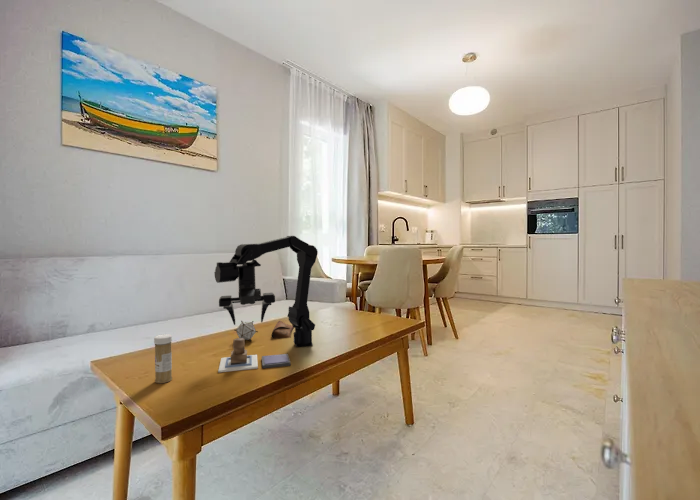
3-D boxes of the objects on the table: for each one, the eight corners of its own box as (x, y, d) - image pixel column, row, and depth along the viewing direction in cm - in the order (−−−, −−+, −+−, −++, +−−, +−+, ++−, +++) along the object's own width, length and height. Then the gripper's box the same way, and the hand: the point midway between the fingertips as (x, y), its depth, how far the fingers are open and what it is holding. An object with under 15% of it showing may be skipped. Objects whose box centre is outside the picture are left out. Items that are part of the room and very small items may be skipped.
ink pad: (287, 356, 122) (287, 353, 122) (290, 365, 113) (290, 361, 113) (261, 359, 119) (261, 355, 119) (262, 368, 111) (262, 364, 111)
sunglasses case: (291, 337, 145) (283, 324, 144) (277, 346, 144) (269, 333, 144) (294, 326, 163) (287, 315, 162) (281, 334, 162) (274, 323, 162)
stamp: (246, 358, 118) (246, 337, 118) (246, 363, 113) (246, 341, 113) (231, 360, 116) (231, 338, 116) (230, 365, 112) (230, 342, 111)
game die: (250, 348, 143) (265, 327, 145) (242, 347, 135) (258, 325, 137) (234, 336, 145) (249, 316, 147) (226, 334, 137) (241, 313, 139)
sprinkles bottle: (152, 381, 101) (151, 336, 101) (168, 376, 105) (167, 332, 104) (158, 385, 98) (157, 339, 98) (175, 380, 102) (174, 335, 101)
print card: (257, 356, 122) (257, 353, 122) (257, 368, 111) (257, 365, 111) (221, 359, 119) (221, 356, 119) (218, 372, 107) (218, 369, 107)
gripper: (217, 284, 110) (218, 332, 111) (275, 281, 116) (277, 326, 116) (219, 280, 121) (220, 323, 121) (273, 277, 126) (274, 318, 127)
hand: (248, 323), depth 121 cm, fingers open, 9 cm apart
